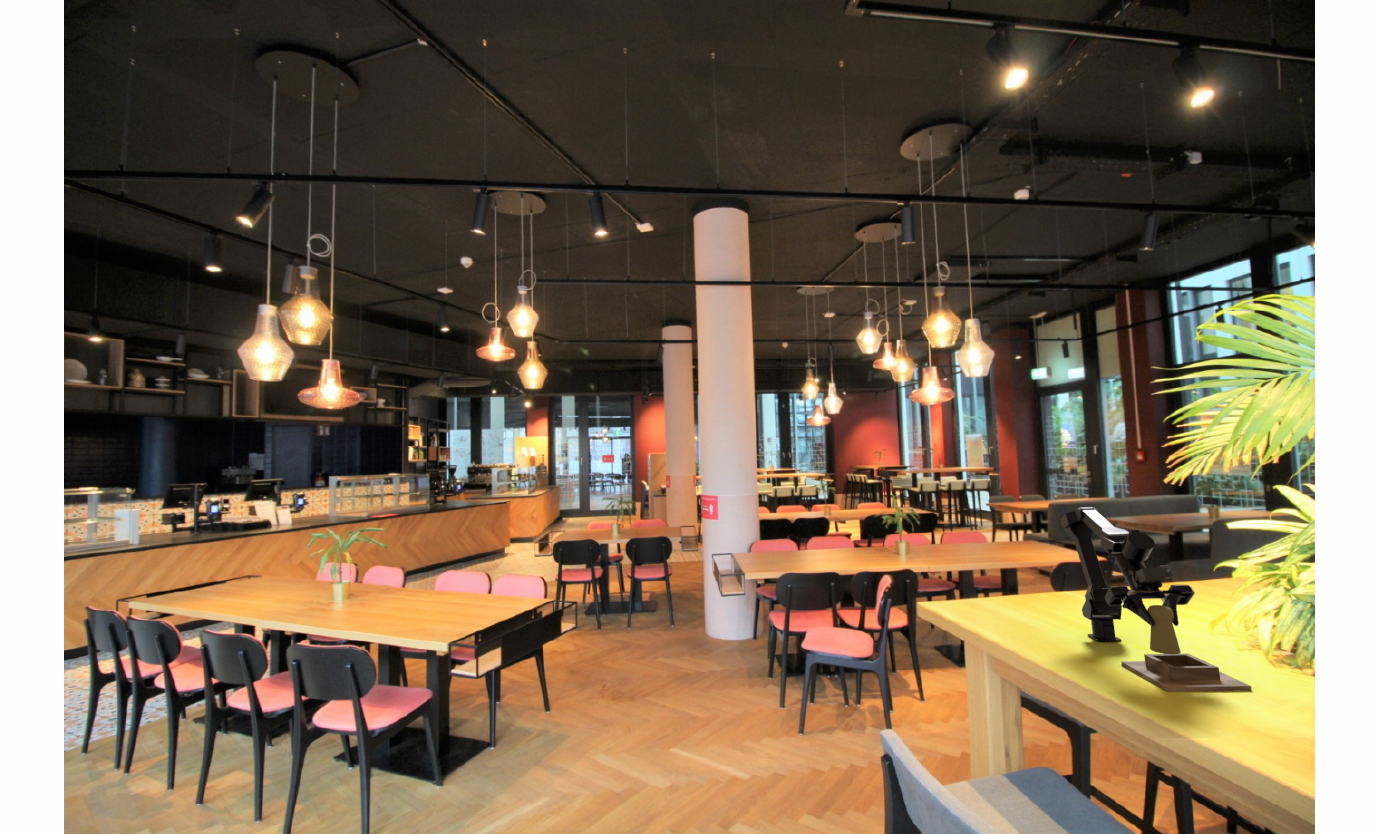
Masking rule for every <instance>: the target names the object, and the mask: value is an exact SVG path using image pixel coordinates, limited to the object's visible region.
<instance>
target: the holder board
mask: <svg viewBox="0 0 1378 834" xmlns="http://www.w3.org/2000/svg"><path fill="white" fill-rule="evenodd" d="M1143 658H1144V660H1135V661H1134V660H1133V661H1132V660H1131V661H1127V660H1126V661H1121V662H1120V663H1121V666H1122V667H1124V668H1125V669H1127V670H1130V671H1131V672H1132V673H1135V675H1138V676H1140V677H1141V678H1143V679H1145V680H1147V681H1148V682H1150V683H1152V684H1154V685H1155V686H1157V687H1159V688H1161V689H1163V690H1164V691H1166V692H1221V691H1220V690H1249V691H1253V690H1252V686H1251V685H1250V684H1247V683H1246V682H1244V681H1241V680H1239V679H1237V678H1234V677H1232V676H1230V675H1228V674H1226V673H1223V672H1221V671H1220V667H1219V666H1216V665H1215V664H1212V663H1210V662H1208V661H1205V660H1203V659H1201V658H1199V657H1196V656H1194V655H1192V654H1190V653H1179V654H1163V653H1150V654H1149V653H1147V654H1146V653H1145V654H1144V656H1143Z"/></svg>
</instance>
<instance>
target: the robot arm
mask: <svg viewBox="0 0 1378 834" xmlns="http://www.w3.org/2000/svg"><path fill="white" fill-rule="evenodd" d="M1060 524H1061V527H1062V529H1063V530H1064V532H1065V535H1066V536H1067V537H1068V538H1070V539H1071V540H1072V541H1073V542H1074V545H1075V548H1076V552H1077V555H1078V558H1079V561H1080V565H1081V568H1082V571H1083V574H1084V578H1085V582H1086V584H1087V589H1086V592H1085V594H1084V598H1085V602H1083V603H1084V604H1083V605H1082V608H1081V613H1082V616H1083V618H1085V619H1088V620H1090V623H1091V624H1090V625H1091V630H1092V631H1091V632H1092V633H1087V636H1088V637H1090V638H1091V639H1093V640H1095V641H1096V642H1100V643H1101V642H1102V643H1103V642H1122V638H1119V637H1117V636H1116V630H1115V622H1114V621H1115V620H1118V621H1119V620H1122V609H1127V610H1128V611H1130V612H1131V613H1133V614H1135V615H1136V616H1138V617H1139V618H1140V619H1142V621H1144V622H1145V623H1147V624H1148V625H1150V627H1151V626H1154V622H1153V619H1152V617H1151V616H1150V614H1149V612H1148V611H1147V610H1148V608H1147V607H1146V606H1145V604H1144V601H1143V600H1151V599H1152V600H1155V599H1159V600H1161V601H1162V606H1167V607H1169V608H1171V609H1172V611H1173V613H1174V618H1173V619H1172V623H1173V626H1175V627H1177V626H1178V625H1179V618H1178V617H1179V616H1178V610H1177V606H1185V605H1188V604H1189V603H1190V601H1191V600H1192V598H1193V597H1194V595H1195V591H1194V590H1193V588H1192V587H1191V586H1190V585H1188V584H1171V585H1170V586H1169V587H1168V590H1167V589H1166V590H1161V589H1159V588H1162V587H1163V582H1166V581H1168V580H1169V579H1171V578H1173V577H1174V574H1173V571H1172V570H1171V567H1169V566H1168V564H1166V565H1165V564H1164V565H1163V564H1162V565H1159V566H1157V567H1146V565H1145V563H1144V562H1145V561H1146V560H1148V558H1149V557H1150V555H1151V553H1152V551H1153V549H1154V547H1155V545H1156V543H1155V540H1154V538H1152V537H1151V536H1149V535H1148V534H1145V533H1142V532H1140V530H1139V529H1129V531H1128V530H1127V529H1123V528H1120V527H1116V526H1114V525H1113V524H1112V523H1111V522H1109V520H1107V518H1105V517H1104V516H1103V515H1102V514H1100V513H1099V511H1098V508H1097V507H1093V506H1086V507H1082V506H1081V507H1079V508H1076V509H1075V510H1073V511H1070V512H1067V513H1064V515H1063V516H1061V518H1060ZM1093 534H1095V535H1096V536H1098V537H1099V539H1100V541H1099V542H1100V543H1099V544H1100V546H1101V547H1102V549H1103V550H1104V551H1105V552H1106V553H1107V554H1117V555H1116V556H1115V558H1114V560H1115V561H1114V567H1115V568H1119V570H1120V572H1121V573H1122V575H1123V577H1124V580H1123V582H1124V585H1110V586H1109V585H1108V584H1107V583H1106V580H1105V577H1104V574H1103V570H1102V568H1101V565H1100V564H1101V563H1100V561H1099V559H1098V555H1097V551H1096V548H1095V546H1094V543H1093V540H1092V537H1093ZM1126 585H1128V586H1126ZM1128 587H1129V588H1130V589H1129V588H1128Z"/></svg>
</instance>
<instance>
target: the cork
mask: <svg viewBox="0 0 1378 834" xmlns="http://www.w3.org/2000/svg"><path fill="white" fill-rule="evenodd" d="M1147 611H1148V612H1149V614H1150V616H1151V617H1152V619H1153V622H1154V626H1151V625H1150V638H1149V639H1150V642H1149V645H1150V646H1149V649H1150V651H1152V652H1155V653H1157V654H1182V651H1181V648H1180V645H1179V641H1178V637H1177V634H1176V631H1175V627H1174V624H1173V623H1172V619H1173V618H1174V613H1173V611H1172V609H1171V608H1169V607H1167V606H1162V605H1161V604H1160V605H1159V604H1156V605H1155V604H1152V605H1150V606H1148V607H1147Z"/></svg>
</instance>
